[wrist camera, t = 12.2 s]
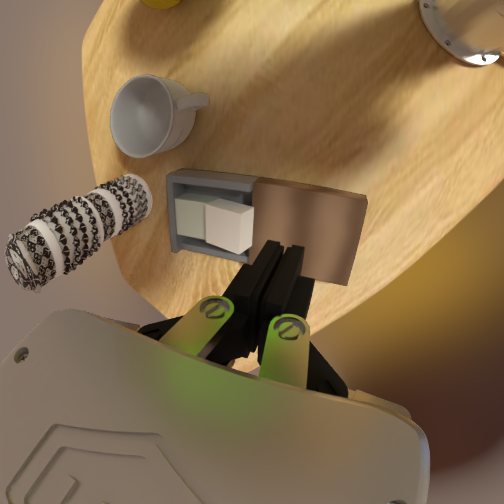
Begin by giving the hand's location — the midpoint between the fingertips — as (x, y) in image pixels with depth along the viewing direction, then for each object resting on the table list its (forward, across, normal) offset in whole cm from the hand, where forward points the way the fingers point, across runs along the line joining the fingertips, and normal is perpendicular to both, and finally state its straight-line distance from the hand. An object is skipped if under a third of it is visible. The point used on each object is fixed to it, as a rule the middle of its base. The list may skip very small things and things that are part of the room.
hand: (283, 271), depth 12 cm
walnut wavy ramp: (+24, +2, +9) cm, 26 cm away
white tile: (+21, +11, +9) cm, 26 cm away
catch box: (+24, +15, +9) cm, 29 cm away
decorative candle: (+23, +31, +8) cm, 39 cm away
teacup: (+24, +21, -6) cm, 32 cm away
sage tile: (+23, +17, +9) cm, 30 cm away
